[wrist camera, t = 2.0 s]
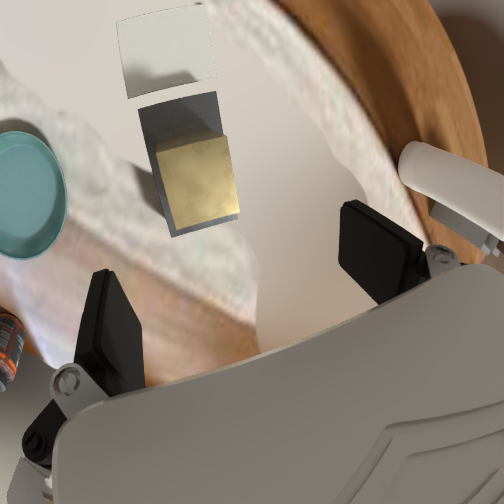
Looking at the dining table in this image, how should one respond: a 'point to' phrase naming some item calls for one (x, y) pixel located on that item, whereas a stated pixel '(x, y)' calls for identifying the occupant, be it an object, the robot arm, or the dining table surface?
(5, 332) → the supplement bottle
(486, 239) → the perfume bottle
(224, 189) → the gold block
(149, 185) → the dining table surface
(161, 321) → the dining table surface
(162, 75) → the mat
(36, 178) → the saucer
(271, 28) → the dining table surface
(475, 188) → the bottle
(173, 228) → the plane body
